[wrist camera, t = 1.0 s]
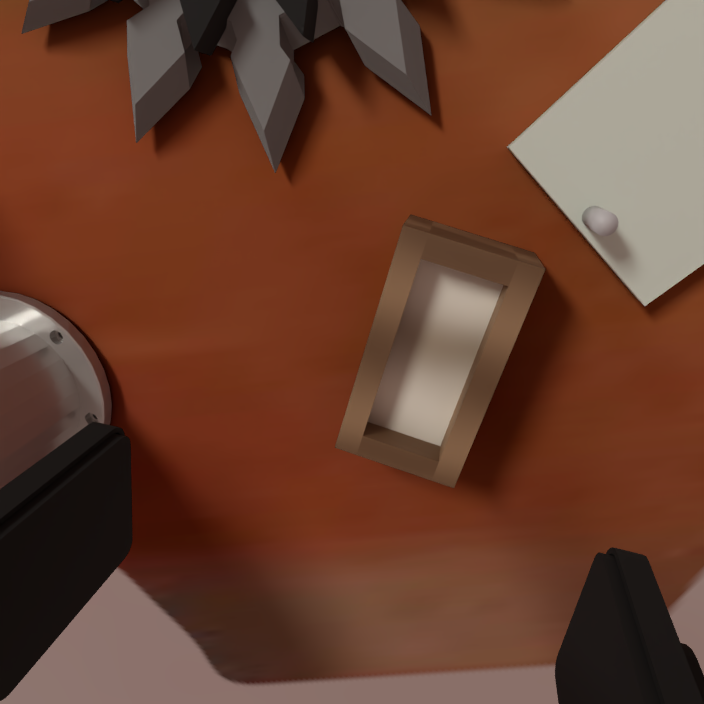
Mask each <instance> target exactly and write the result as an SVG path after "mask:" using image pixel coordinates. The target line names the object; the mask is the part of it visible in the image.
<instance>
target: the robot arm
mask: <svg viewBox="0 0 704 704" xmlns="http://www.w3.org/2000/svg"><path fill="white" fill-rule="evenodd" d="M111 411H112V401H111V394H110V387H109V384H108V381H107V377H106V374H105V371H104V369H103V367H102V365H101V363H100V361H99V359H98V357H97V355H96V353H95V351H94V350H93V348H92V347H91V346H90V344H89V343H88V341H87V340H86V339H85V337H84V336H83V335H82V334H81V333H80V332H79V331H78V330H77V329H76V328H75V327H74V326H73V325H72V324H71V322H70V321H68V320H67V319H66V318H64V317H63V316H62V315H60V314H59V313H58V312H57V311H55V310H54V309H52V308H51V307H49V306H47V305H45V304H43V303H41V302H39V301H38V300H36V299H33V298H30V297H27V296H24V295H21V294H18V293H12V292H4V291H0V701H1V700H3V699H4V698H6V697H7V696H8V695H9V694H10V693H11V692H12V690H13V689H14V688H15V687H16V686H17V685H18V683H19V682H20V681H21V680H22V679H23V678H24V676H25V675H26V674H27V673H28V672H29V670H30V669H31V668H32V667H33V666H34V665H35V663H36V662H37V661H38V660H39V659H40V657H41V656H42V655H43V654H44V653H45V652H46V650H47V649H48V648H49V647H50V646H51V645H52V643H53V642H54V641H55V640H56V639H57V637H58V636H59V635H60V634H61V633H62V632H63V630H64V629H65V628H66V627H67V626H68V625H69V623H70V622H71V621H72V620H73V619H74V617H75V616H76V615H77V614H78V613H79V612H80V610H81V609H82V608H83V607H84V606H85V604H86V603H87V602H88V601H89V600H90V599H91V597H92V596H93V595H94V594H95V593H96V592H97V590H98V589H99V588H100V587H101V586H102V584H103V583H104V582H105V581H106V580H107V579H108V577H109V576H110V575H111V574H112V573H113V572H114V570H115V569H116V568H117V567H118V566H119V564H120V563H121V562H122V561H123V560H124V559H125V557H126V556H127V554H128V552H129V550H130V548H131V544H132V492H131V444H130V439H129V438H128V437H126V436H125V435H124V431H123V429H121V428H119V427H115V426H111V425H110V422H111ZM555 679H556V687H557V694H558V702H559V704H704V675H703V673H702V670H701V668H700V665H699V663H698V660H697V658H696V656H695V654H694V653H693V651H692V649H691V648H690V647H688V646H687V645H686V644H682V643H680V641H679V638H678V636H677V633H676V630H675V628H674V625H673V623H672V620H671V618H670V615H669V612H668V610H667V607H666V605H665V602H664V600H663V597H662V594H661V592H660V589H659V587H658V584H657V581H656V579H655V576H654V574H653V571H652V569H651V566H650V563H649V561H648V559H647V557H646V556H644V555H642V554H638V553H633V552H629V551H625V550H621V549H617V548H610V549H609V550H608V551H607V553H606V554H603V553H598V554H597V555H596V556H595V558H594V561H593V563H592V566H591V569H590V571H589V574H588V577H587V579H586V582H585V585H584V587H583V590H582V592H581V595H580V598H579V600H578V603H577V606H576V608H575V611H574V614H573V616H572V619H571V621H570V624H569V627H568V629H567V632H566V635H565V637H564V640H563V643H562V645H561V648H560V650H559V653H558V656H557V660H556V667H555Z"/></svg>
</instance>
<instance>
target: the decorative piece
mask: <svg viewBox="0 0 704 704" xmlns="http://www.w3.org/2000/svg"><path fill="white" fill-rule="evenodd" d="M106 1H108V0H29V4H28V8H27V12H26V16H25V21H24V25H23V29H22V33H21V34H23V33H26V32H28V31H31V30H34V29H37V28H40V27H43V26H46V25H49V24H52V23H55V22H58V21H61V20H64V19H67V18H70V17H73V16H76V15H79V14H82V13H85V12H88V11H90V10H92V9H94V8H96V7H97V6H99V5H101V4H102V3H104V2H106ZM111 1H114V2H116V3H120V2H121V1H122V0H111ZM134 1H135V2H136V3H137V4H138V5H139V6H141V7H142V8H143V10H142V11H140V12H139V13H137V14H136V15H134V16H133V17H131V18H130V19H128V20H127V56H128V66H129V76H130V86H131V95H132V105H133V115H134V125H135V135H136V143H137V142H138V141H139V140H140V139H141V138H142V137H143V136H144V135H145V134H146V133H147V132H148V131H149V130H150V129H151V128H152V127H153V126H154V125H155V124H156V123H157V122H158V121H159V120H160V119H161V118H162V117H163V116H164V115H165V114H166V113H167V112H168V111H169V110H170V109H171V108H172V106H173V105H174V104H175V103H176V102H177V101H178V100H179V99H180V98H181V97H182V96H183V95H184V94H185V93H186V92H187V91H188V90H189V89H190V88H191V86H192V84H193V82H194V80H195V79H196V77H197V75H198V73H199V71H200V70H201V68H202V65H201V61H200V57H199V53H198V52H201V53H204V54H207V55H210V56H211V55H212V53H213V51H214V50H215V48H216V46H220V47H223V48H227V49H228V50H230V51H232V54H231V60H232V64H233V68H234V72H235V76H236V81H237V85H238V89H239V93H240V95H241V98H242V100H243V102H244V104H245V107H246V109H247V111H248V113H249V115H250V118H251V120H252V122H253V124H254V127H255V129H256V131H257V133H258V136H259V138H260V140H261V142H262V144H263V147H264V149H265V151H266V153H267V156H268V158H269V160H270V162H271V164H272V167H273V169H274V171H275V173H276V171H277V168H278V165H279V163H280V160H281V158H282V155H283V153H284V150H285V147H286V145H287V142H288V140H289V137H290V135H291V132H292V130H293V127H294V124H295V122H296V119H297V117H298V114H299V112H300V109H301V106H302V104H303V101H304V99H305V92H304V74H303V73H302V71H301V70H300V68H299V67H298V66H297V64H296V63H295V62H294V50H295V49H297V48H299V47H301V46H303V45H304V44H306V43H308V42H310V41H311V42H312V43H313V42H314V39H316V38H318V37H320V36H322V35H324V34H325V33H327V32H329V31H331V30H333V29H335V28H337V27H339V26H342V27H344V28H345V29H346V31H347V33H348V35H349V37H350V39H351V41H352V43H353V44H354V46H355V48H356V50H357V52H358V54H359V56H360V58H361V59H362V61H363V63H364V65H365V66H366V67H367V68H369V69H370V70H371V71H373V72H374V73H375V74H377V75H378V76H379V77H381V78H382V79H383V80H385V81H386V82H387V83H389V84H390V85H391V86H393V87H394V88H395V89H396V90H398V91H399V92H400V93H402V94H403V95H404V96H406V97H407V98H408V99H410V100H411V101H412V102H414V103H415V104H416V105H418V106H419V107H420V108H422V109H423V110H424V111H426V112H427V113H428V114H430V115H431V108H430V101H429V93H428V86H427V78H426V71H425V63H424V56H423V48H422V41H421V33H420V26H419V24H418V23H417V22H416V20H415V19H414V17H413V16H412V15H411V13H410V12H409V10H408V9H407V8H406V6H405V5H404V4H403V2H402V1H401V0H134Z"/></svg>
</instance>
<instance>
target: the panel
mask: <svg viewBox="0 0 704 704" xmlns="http://www.w3.org/2000/svg"><path fill="white" fill-rule="evenodd" d="M507 148H508V149H509V150H510V152H511V153H512V154H513V155H514V156H515V157H516V159H517V160H518V161H519V162H520V163H521V164H522V166H523V167H524V168H525V169H526V170H527V171H528V173H529V174H530V175H531V176H532V177H533V178H534V180H535V181H536V182H537V183H538V184H539V185H540V187H541V188H542V189H543V190H544V191H545V192H546V194H547V195H548V196H549V197H550V198H551V199H552V201H553V202H554V203H555V204H556V205H557V206H558V208H559V209H560V210H561V211H562V212H563V213H564V215H565V216H566V217H567V218H568V219H569V220H570V222H571V223H572V224H573V225H574V226H575V227H576V229H577V230H578V231H579V232H580V233H581V234H582V236H583V237H584V238H585V239H586V240H587V241H588V243H589V244H590V245H591V246H592V247H593V248H594V250H595V251H596V252H597V253H598V254H599V255H600V256H601V258H602V259H603V260H604V261H605V262H606V263H607V265H608V266H609V267H610V268H611V269H612V270H613V272H614V273H615V274H616V275H617V276H618V277H619V279H620V280H621V281H622V282H623V283H624V284H625V286H626V287H627V288H628V289H629V290H630V291H631V293H632V294H633V295H634V296H635V297H636V298H637V300H638V301H640V302H641V303H642V304H643V305H644V306H646V305H647V304H649V303H650V302H652V301H653V300H654V299H656V298H657V297H659V296H660V295H661V294H663V293H664V292H665V291H667V290H668V289H670V288H671V287H672V286H674V285H675V284H677V283H678V282H679V281H681V280H682V279H684V278H685V277H686V276H688V275H689V274H690V273H692V272H693V271H695V270H696V269H697V268H699V267H700V266H702V265H703V264H704V0H665V1H664V2H663V3H662V4H661V5H660V6H659V7H658V8H657V9H656V10H654V11H653V12H652V13H651V14H650V15H649V16H648V17H647V18H646V19H645V20H644V21H643V22H642V23H640V24H639V25H638V26H637V27H636V28H635V29H634V30H633V31H632V32H631V33H630V34H629V35H627V36H626V37H625V38H624V39H623V40H622V41H621V42H620V43H619V44H618V45H617V46H616V47H615V48H613V49H612V50H611V51H610V52H609V53H608V54H607V55H606V56H605V57H604V58H603V59H602V60H601V61H599V62H598V63H597V64H596V65H595V66H594V67H593V68H592V69H591V70H590V71H589V72H588V73H586V74H585V75H584V76H583V77H582V78H581V79H580V80H579V81H578V82H577V83H576V84H575V85H574V86H572V87H571V88H570V89H569V90H568V91H567V92H566V93H565V94H564V95H563V96H562V97H561V98H559V99H558V100H557V101H556V102H555V103H554V104H553V105H552V106H551V107H550V108H549V109H548V110H547V111H545V112H544V113H543V114H542V115H541V116H540V117H539V118H538V119H537V120H536V121H535V122H534V123H533V124H531V125H530V126H529V127H528V128H527V129H526V130H525V131H524V132H523V133H522V134H521V135H520V136H518V137H517V138H516V139H515V140H514V141H513V142H512V143H511V144H510V145H509V146H508V147H507Z"/></svg>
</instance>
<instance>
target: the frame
mask: <svg viewBox="0 0 704 704" xmlns="http://www.w3.org/2000/svg"><path fill="white" fill-rule="evenodd" d="M544 272H545V268H544V266H543V265H542V263H541V262H540V260H539V259H538V257H537V256H536V254H535V253H534V252H531V251H527V250H524V249H521V248H518V247H514V246H511V245H508V244H505V243H501V242H498V241H495V240H492V239H489V238H485V237H482V236H479V235H476V234H472V233H469V232H466V231H463V230H459V229H456V228H453V227H450V226H446V225H443V224H440V223H437V222H434V221H430V220H427V219H424V218H421V217H417V216H414V215H410V216H409V218H408V219H407V220H406V222H405V223H404V225H403V227H402V230H401V234H400V237H399V240H398V243H397V247H396V250H395V253H394V256H393V260H392V263H391V266H390V270H389V273H388V276H387V279H386V283H385V286H384V289H383V292H382V296H381V299H380V302H379V305H378V309H377V312H376V315H375V318H374V322H373V325H372V328H371V331H370V335H369V338H368V341H367V344H366V348H365V351H364V354H363V357H362V361H361V364H360V367H359V370H358V374H357V377H356V380H355V383H354V387H353V390H352V393H351V396H350V400H349V403H348V406H347V409H346V413H345V416H344V419H343V422H342V426H341V429H340V432H339V435H338V439H337V442H336V445H335V448H338V449H341V450H344V451H347V452H349V453H352V454H355V455H358V456H361V457H364V458H367V459H370V460H373V461H376V462H379V463H382V464H384V465H387V466H390V467H393V468H396V469H399V470H402V471H405V472H408V473H411V474H414V475H417V476H420V477H422V478H425V479H428V480H431V481H434V482H437V483H440V484H443V485H446V486H449V487H452V488H454V487H455V484H456V482H457V479H458V477H459V475H460V472H461V470H462V468H463V465H464V463H465V460H466V458H467V456H468V453H469V451H470V448H471V446H472V444H473V441H474V439H475V436H476V434H477V432H478V429H479V427H480V425H481V422H482V420H483V417H484V415H485V413H486V410H487V408H488V405H489V403H490V401H491V398H492V396H493V393H494V391H495V389H496V386H497V384H498V382H499V379H500V377H501V374H502V372H503V370H504V367H505V365H506V362H507V360H508V358H509V355H510V353H511V350H512V348H513V346H514V343H515V341H516V339H517V336H518V334H519V331H520V329H521V327H522V324H523V322H524V319H525V317H526V315H527V312H528V310H529V307H530V305H531V303H532V300H533V298H534V296H535V293H536V291H537V288H538V286H539V284H540V281H541V279H542V276H543V274H544Z"/></svg>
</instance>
